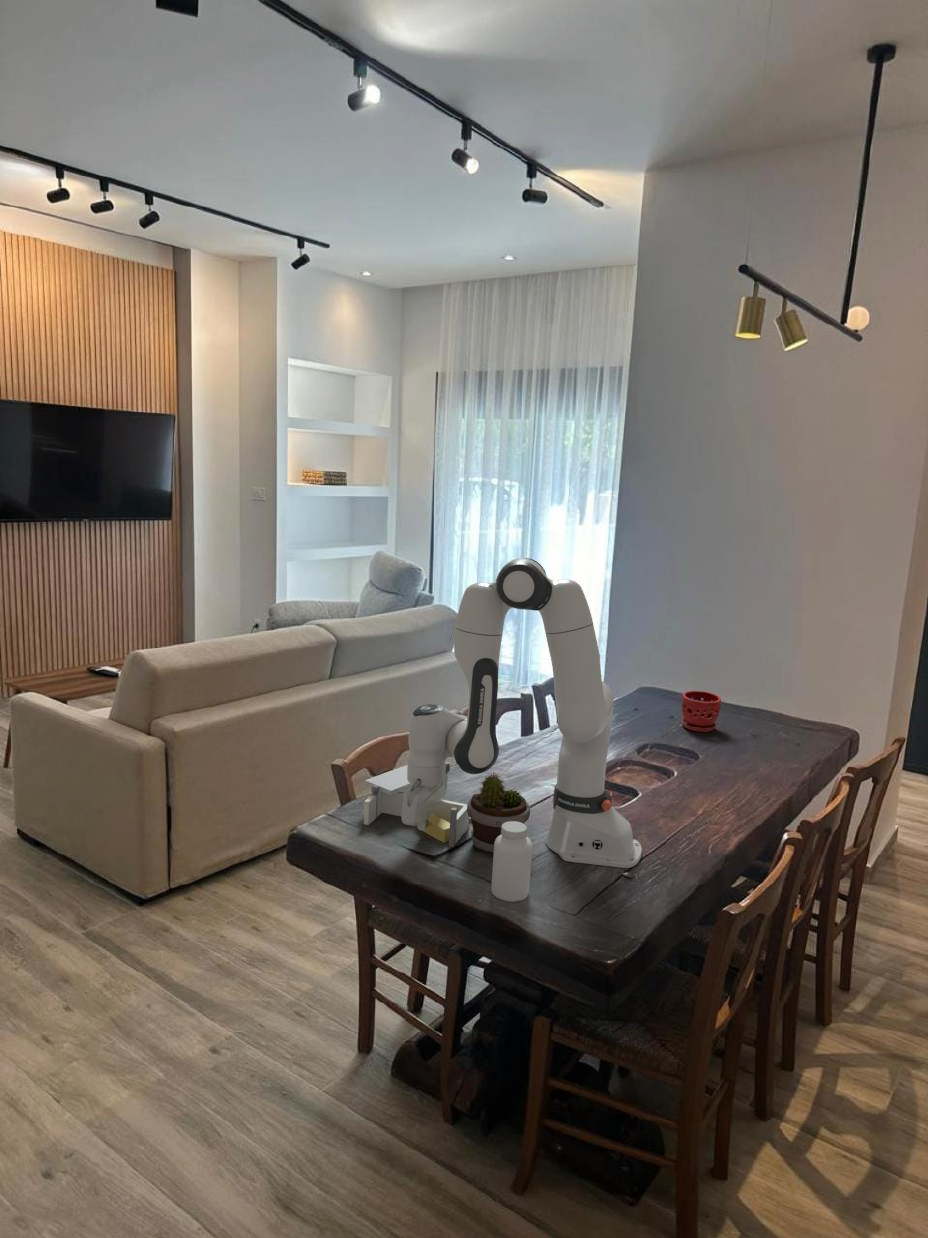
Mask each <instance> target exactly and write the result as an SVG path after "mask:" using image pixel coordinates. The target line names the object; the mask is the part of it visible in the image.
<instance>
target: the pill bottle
mask: <svg viewBox="0 0 928 1238" xmlns="http://www.w3.org/2000/svg"><path fill="white" fill-rule="evenodd" d="M492 856H493V859H492V873H491V874H492V875H491V886H490V887H491V894H492V895H494V897H496V898H497V899H499V900H501V901H505V902H512V903H513V902H514V903H515V902H520V901H523V900H525V899H526V898H527V897H528V896H529V893H530V883H531V872H532V871H531V870H532V859H533V858H532V857H533V843H532V841H531V839H530V837H528V827H527V825H525V823H524V824H523V823H521V822H516V821H509V822H505V823H503V824H502V826H501V835H499V836H498V837H497V838H496V840H495V843H494V855H492Z"/></svg>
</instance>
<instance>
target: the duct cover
mask: <svg viewBox="0 0 928 1238" xmlns="http://www.w3.org/2000/svg"><path fill="white" fill-rule="evenodd" d="M407 766H408V764H406V765H403V766H400V767H397V768H395V769H392V770H389V771H387V772H384V773H381V774H379V775H375V776H372V777H370V778H367V779H364V785H365V786H366V787H369V788H370V791H371V793H372V792H378V791H381V792H384V793H386V794H389V795H393V794H396V793H398V792H404V791H405V790H406V791H407V790H408V789H409V788H410V786H411V785H412V784H411V783H410V782H408V780H407ZM449 773H450V771H449V772H448V774H449Z"/></svg>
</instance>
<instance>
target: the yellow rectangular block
mask: <svg viewBox="0 0 928 1238" xmlns="http://www.w3.org/2000/svg"><path fill="white" fill-rule="evenodd" d="M416 829H418V824H417V825H416ZM421 831H423V830H421ZM423 832H424V833H426V834H428V835H429V836H431V837H433V838H435V839H436V840H438V841H440V842H441V841H442V843H447V842H449V832H450V823H449V822H447V821H445V820H443V819H441V818H440V817H438V816H436V815H434V814H432V813H431V817H430V822H429V826H428V827H427V828H426V829H425V830H424V831H423ZM446 841H447V842H446Z"/></svg>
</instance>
